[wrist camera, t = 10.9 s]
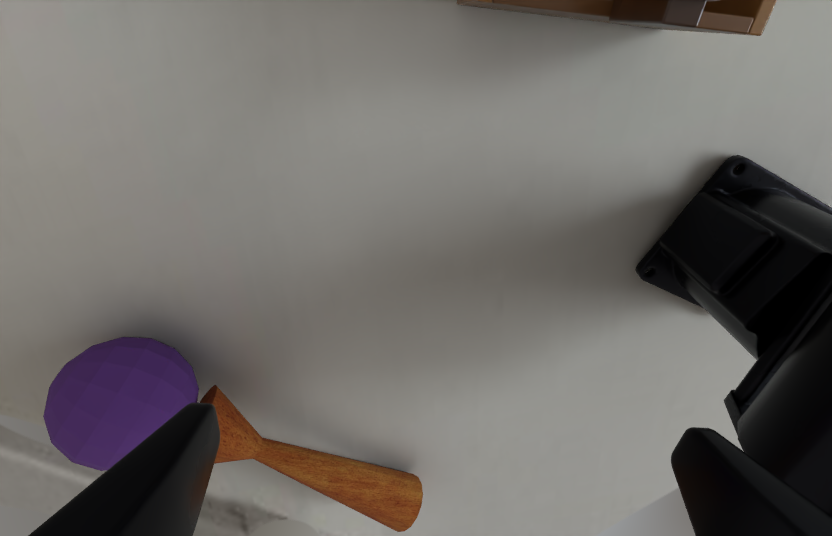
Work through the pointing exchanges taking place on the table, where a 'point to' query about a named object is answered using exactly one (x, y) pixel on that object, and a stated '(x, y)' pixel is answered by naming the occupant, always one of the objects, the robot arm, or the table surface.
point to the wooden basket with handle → (651, 12)
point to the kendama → (177, 387)
